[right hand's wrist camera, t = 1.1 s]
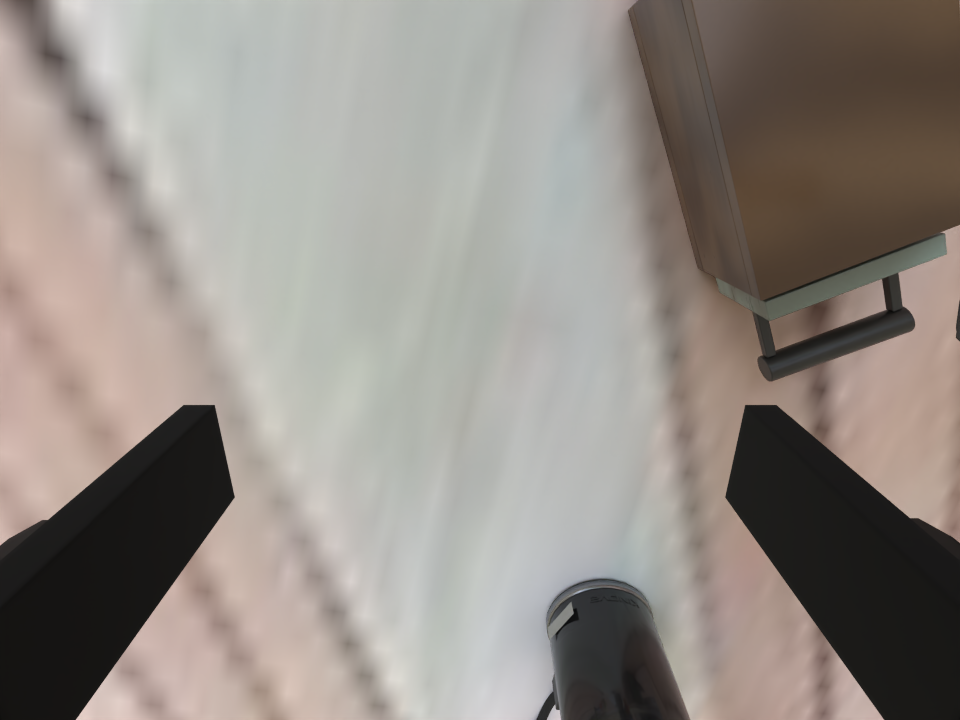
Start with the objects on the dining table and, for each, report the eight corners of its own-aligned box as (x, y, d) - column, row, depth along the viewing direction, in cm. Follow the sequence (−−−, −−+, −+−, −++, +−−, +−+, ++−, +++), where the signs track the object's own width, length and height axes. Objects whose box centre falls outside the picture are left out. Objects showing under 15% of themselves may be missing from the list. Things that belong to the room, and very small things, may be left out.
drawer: (874, 313, 35) (955, 345, 29) (737, 363, 36) (788, 404, 30) (825, -19, 28) (919, -66, 22) (658, 59, 29) (703, 35, 23)
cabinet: (858, 204, 33) (974, 219, 25) (697, 268, 34) (760, 301, 27) (816, -82, 27) (948, -174, 20) (627, 10, 29) (681, -43, 21)
